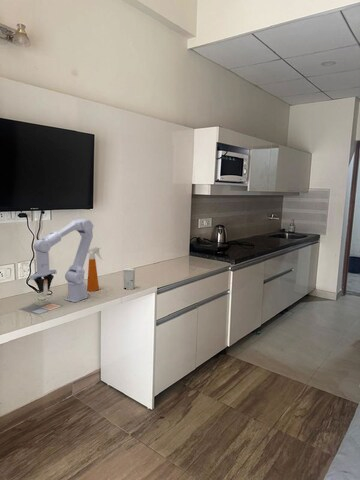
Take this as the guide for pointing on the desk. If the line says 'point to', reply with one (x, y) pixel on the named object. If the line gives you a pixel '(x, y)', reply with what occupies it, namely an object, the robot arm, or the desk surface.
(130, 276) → the skincare box
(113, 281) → the desk surface
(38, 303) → the button housing
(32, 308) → the picture sheet
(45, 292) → the cylinder
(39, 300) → the button
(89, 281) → the spray bottle
